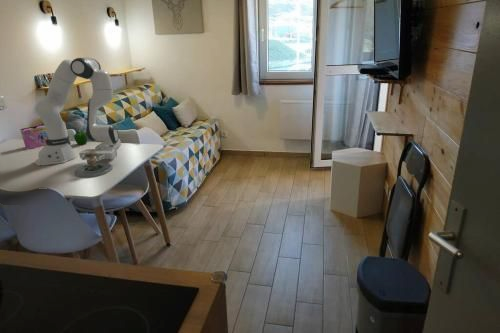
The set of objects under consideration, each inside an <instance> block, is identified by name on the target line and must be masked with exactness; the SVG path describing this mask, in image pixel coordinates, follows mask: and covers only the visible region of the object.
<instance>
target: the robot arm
mask: <svg viewBox="0 0 500 333" xmlns="http://www.w3.org/2000/svg"><path fill="white" fill-rule="evenodd" d="M78 77H79V78H81V79H82V78H83V79H85V80H90V82H91V86H92V87H91V88H92V95H91V98H89V99H88V104H87V116H86V117H87V119H86V121H87V122H86V128H85V133H86V136H87V140H89V141H91V142H100V143H99V144H98V145H96V146H95V148H88V149H84V150H83V149H82V151H80V152H79V153H78V155H79V158H80V159H81V160H82V161H85V160H86V158H87V157H86V156H85V153H86V152H91V151H94V152H96V155H95V156H96V159H97V161H101V160H112V159H114V158H116V157H118V150H119V149H120V147H121V145H122V142H121V139H120V136H119V130H118V129H117V128H116V126H115V125H113V124H98V123H97V120H98V119H97V118H98V110H99V109H100V108H102V107H103V106H106V105H108V104H110V102H112V100H113V98H114V89H113V84H112V79H111V75H110V72H108V71H106V70H104V69H102V66H101V65H100V63H99V62H98V60H96V59H94V58H90V57H77V58H74V59H73V60H70V59H64V60H62V61H61V62H60V64H59V65H58V66H57V68H56V69H55V72H54V73H53V76H52V78H51V80H50V82H49V84H48V90H47V93H46V95H45V97H44V98H42V99H40V100H38V101H37V103H36V105H35V108H34V109H35V111H34V112H35V113H36V115H37V116H39V117H40V119H41V122H42V123H43V124H44V126H45V128H46V132H47V136H48V138H45V143H46V146H42V148H41V149H40V150H39V152H38V156H37V157H38V158H37V159H36V160H35V163H34V164H35V165H36V166H38V167H39V166H40V165H41V166H47V165H49V166H50V165H57V164H58V165H59V164H64V163H67V162H68V161H72V160H73V159H75V158H76V154H75V152H74V150H73V148H72V147H73V146H72V145H71V144H72V143H71V138H70V136H69V133H68V131H67V126H66V125H67V124H66V122H65V121H64V120H63V119H62V116H61V112H62V111H63V109H64V108H65V105H66V103H67V100H68V97H69V93H71V89H72V87H73V85H74V84H75V81H76V80H77V78H78ZM101 141H102V142H101Z"/></svg>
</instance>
